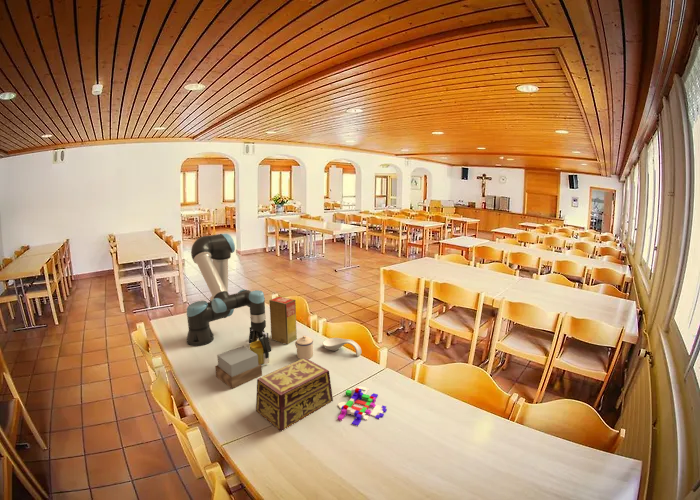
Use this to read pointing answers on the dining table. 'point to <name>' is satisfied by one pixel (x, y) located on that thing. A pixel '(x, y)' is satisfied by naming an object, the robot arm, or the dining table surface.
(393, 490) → the dining table surface
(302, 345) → the teacup with lid
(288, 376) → the decorative box
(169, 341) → the dining table surface
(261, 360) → the plant pot
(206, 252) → the robot arm
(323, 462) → the dining table surface
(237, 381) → the walnut base block
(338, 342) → the spoon rest
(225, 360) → the grey top block
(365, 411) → the building block set
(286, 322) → the food packaging
